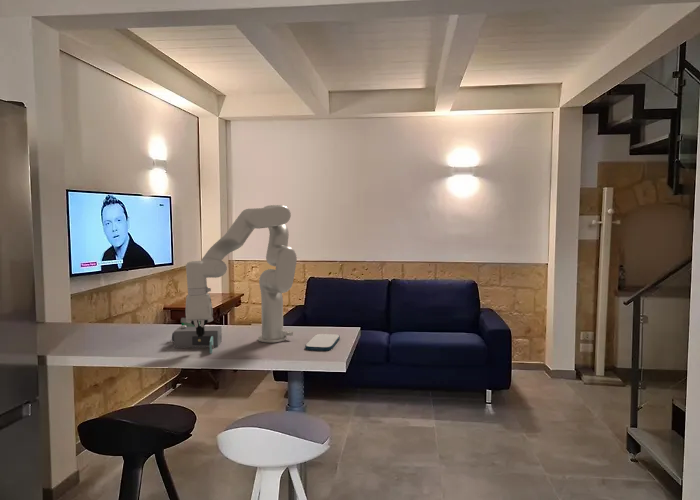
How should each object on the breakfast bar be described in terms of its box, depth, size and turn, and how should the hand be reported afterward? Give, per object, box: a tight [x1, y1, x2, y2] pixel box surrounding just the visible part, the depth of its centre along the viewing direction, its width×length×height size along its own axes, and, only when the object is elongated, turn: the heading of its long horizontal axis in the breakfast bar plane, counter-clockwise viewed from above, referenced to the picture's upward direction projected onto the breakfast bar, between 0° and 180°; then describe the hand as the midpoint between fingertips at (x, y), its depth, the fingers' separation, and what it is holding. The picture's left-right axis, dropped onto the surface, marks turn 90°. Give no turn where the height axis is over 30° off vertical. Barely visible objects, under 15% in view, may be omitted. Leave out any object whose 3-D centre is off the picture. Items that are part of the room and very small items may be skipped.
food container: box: [180, 317, 201, 327], centre depth 229 cm, size 12×6×10 cm, turn 168°
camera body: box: [171, 324, 223, 349], centre depth 215 cm, size 20×10×8 cm, turn 94°
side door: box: [209, 336, 215, 354], centre depth 206 cm, size 10×2×5 cm, turn 12°
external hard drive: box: [304, 333, 341, 352], centre depth 218 cm, size 24×12×2 cm, turn 171°
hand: (200, 336), depth 204 cm, fingers closed
